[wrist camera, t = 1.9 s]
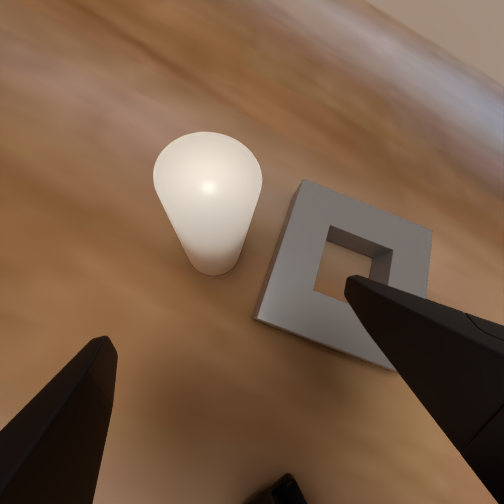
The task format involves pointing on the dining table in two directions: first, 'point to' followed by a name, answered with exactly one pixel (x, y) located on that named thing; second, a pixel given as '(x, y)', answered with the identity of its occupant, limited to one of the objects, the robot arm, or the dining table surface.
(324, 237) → the collar block
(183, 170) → the peg
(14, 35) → the dining table surface
